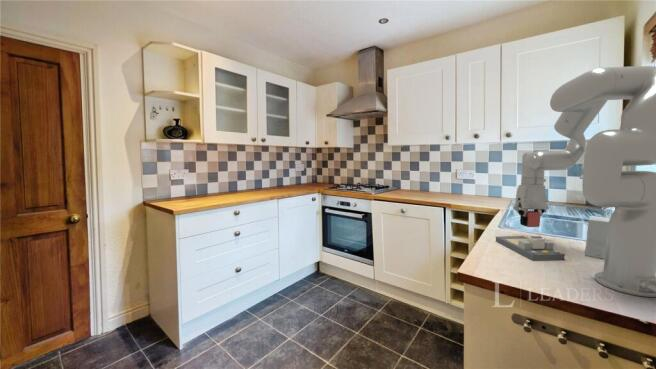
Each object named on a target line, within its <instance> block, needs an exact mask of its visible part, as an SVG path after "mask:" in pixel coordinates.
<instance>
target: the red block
mask: <svg viewBox="0 0 656 369" xmlns="http://www.w3.org/2000/svg"><path fill="white" fill-rule="evenodd" d="M523 212H524V211H523ZM526 216H527V217H528V218H527V226H524V225H522V226H524V227H527V228H540V225H539V223H540V224H541V216H540V212H536V211H534V210H528V212H527V215H526Z"/></svg>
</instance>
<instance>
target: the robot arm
mask: <svg viewBox="0 0 656 369" xmlns="http://www.w3.org/2000/svg"><path fill="white" fill-rule="evenodd" d="M614 100H615V101H617V100H618V101H619V100H630V101H629V103H628V104H626V106H625V108H624V109H623V110H622V113H621V116H620V127H619V129H606V130H602V131H599V132H598V133H595V134H593V136H592V137H590V139H589V140H588V142H586V141H587V140H586V137H585V134H584V133H585V132H586V130H587V129H588V128H589V126H590V125H591V124H592V122H593V121H594V120H595V118H596V117H597V115H599V113H600V112H601V110H602V109H603V108H604V106H605V105H606V104H607V102H608V101H614ZM549 105H550V109H551V110H552V111H554V112H557V113H561V114H560V116H559V117H558V119H557V120H556V121H555V123H554V125H553V127H554V128H553V129H554V130H555V131H556V132H557V133H558V134H559V135H561V136H563V137H565V138H568V139H569V142H568V143H567V145H566V146H565V147H564V149H563V150H558V149H557V150H537V151H525V152H524V153H523V154H522V160H521V162H522V163H521V177H520V180H521V181H520V184H519V185H518V187H517V190H516V194H515V203H514V205H513V207H512V209H513V210H514V211H515V212H516V213H518V215H519V218H520V219H519V224H520V225H521V226H523V225H524V227H526V226H527V218H528V217H527V216H526V215H527V212H528V211H529V210H532V211H536V212H540V217H542V216H543V214H544V213H545V212H546V211H547V210H549V208H550V207H549V205H548V204H547V190H546V186H545V182H546V181H547V180H546V178H545V171H566V170H569V169H571V168H572V167H574V166H575V165H576V164H577V163H578V161H580V159H581V158H582V156H583V155H584V156H583V157H584V158H583V170H582V171H583V172H582V183H581V184H582V186H581V188H582V194H583V196H584V199H585V200H586V201H587V202H588V203H589V204H591V205H592V206H595V207H599V208H615V209H614V210H613V212H612V213H611V215H610V217H609V218H610V220H609V225H608V234H607V242H606V251H605V259H603V260H604V261H603V270H602V271H598V272H597V273H596V272H595V274H594V279H595V281H596V282H598V283H599V284H601V285H603V286H605V287H607V288H609V289H612V290H615V291H618V292H621V293H625V294H629V295H632V296H638V297H639V296H640V297H645V298H646V297H647V298H656V172H655V171H649V170H623V167H624V166H625V167H633V166H635V167H637V166H638V167H639V166H641V167H642V166H652V165H656V66H652V65H651V66H650V65H649V66H648V65H645V66H644V65H640V66H638V65H637V66H636V65H635V66H633V65H632V66H618V67H617V66H616V67H615V66H613V67H611V66H610V67H609V66H608V67H598V68H595V69H594V68H593V69H591V70H589V71H586V72H584V73H582V74H580V75H578V76H576V77H575V78H573V79H571V80H568V81H566V82H565V83H563V84H561V85H560V86H559V87H558V88H557V89H556V90H555V91H554V92H553V93H552V95H551V97H550V101H549ZM523 211H524V212H523ZM539 226H541V222H540V223H539Z"/></svg>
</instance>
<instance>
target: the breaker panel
mask: <svg viewBox="0 0 656 369" xmlns="http://www.w3.org/2000/svg"><path fill="white" fill-rule="evenodd" d="M527 238H528V237H526V236H524V235H514V236H513V235H509V236H508V235H507V236H505V235H504V236H503V235H502V236H501V235H500V236H495V242H497V243H498V244H500V245H502V246H504V247H506V248H508V249H509V250H511V251H514V252H515V253H517V254H519V255H521V256H523V257H525V258H527V259H528V260H531V261H532V262H533V261H534V262H535V261H564V260H565V258H566V257H565V255H566V254H564V253H563V252H561V251H560V250H557V249H554V242H552V241H550V240H548V239H545V245H544V249H532V248H531V243H530V242H527Z"/></svg>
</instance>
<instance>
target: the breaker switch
mask: <svg viewBox="0 0 656 369" xmlns="http://www.w3.org/2000/svg"><path fill="white" fill-rule="evenodd" d="M526 238H527V242H530V243H531V248H532V249H544V245H545V240H546V239H545V238H543V237H542V236H541V235H531V236H527V237H526Z"/></svg>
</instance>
